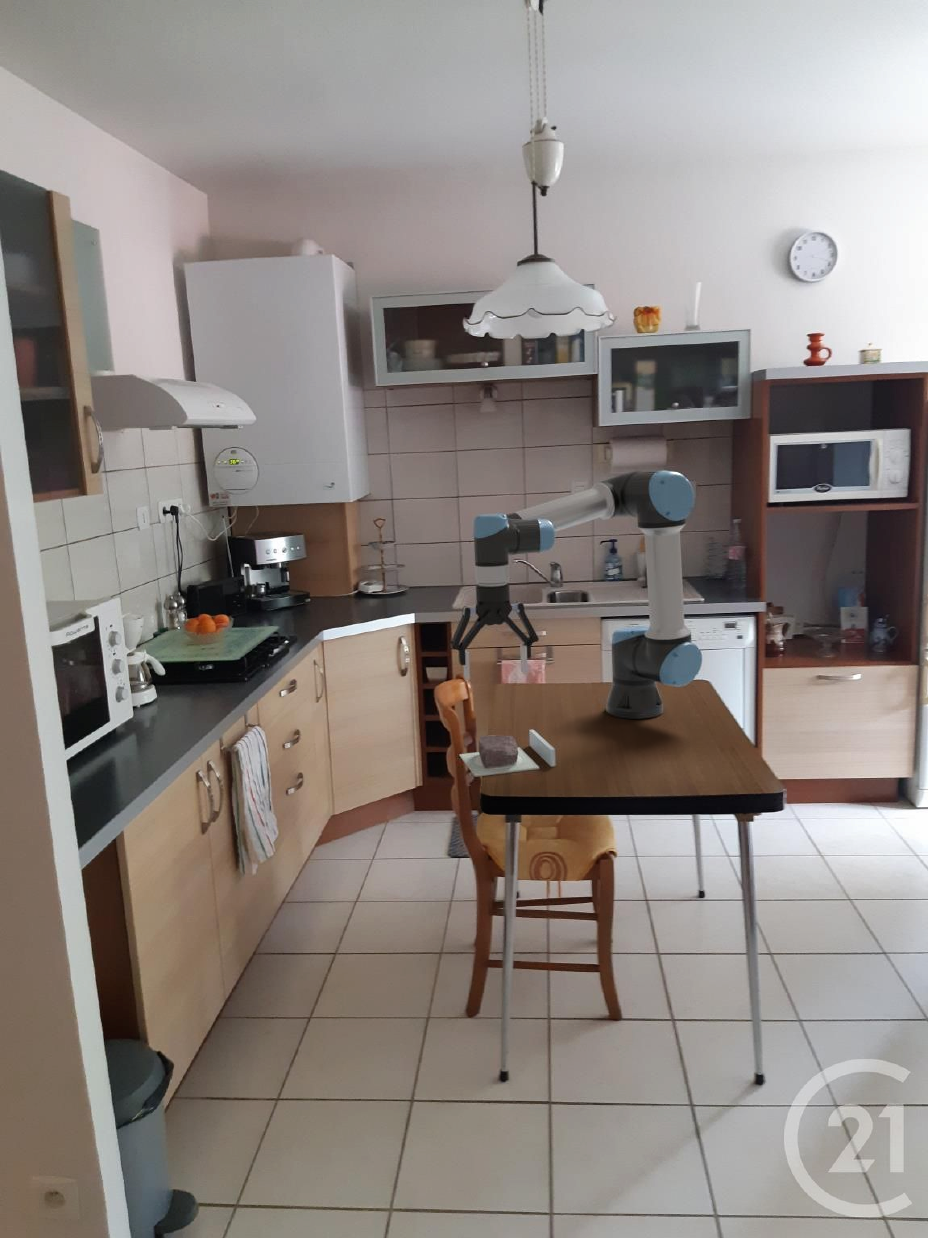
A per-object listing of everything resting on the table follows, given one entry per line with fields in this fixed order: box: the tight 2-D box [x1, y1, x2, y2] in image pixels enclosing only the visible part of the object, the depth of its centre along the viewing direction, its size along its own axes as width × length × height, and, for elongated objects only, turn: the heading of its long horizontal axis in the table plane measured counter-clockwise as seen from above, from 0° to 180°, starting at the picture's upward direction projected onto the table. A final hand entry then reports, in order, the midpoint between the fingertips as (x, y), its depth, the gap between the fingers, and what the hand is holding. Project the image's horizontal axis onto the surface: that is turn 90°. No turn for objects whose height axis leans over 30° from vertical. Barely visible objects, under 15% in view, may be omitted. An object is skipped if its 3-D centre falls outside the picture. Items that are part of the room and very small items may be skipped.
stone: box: [478, 734, 518, 768], centre depth 214 cm, size 12×9×5 cm
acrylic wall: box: [528, 729, 556, 767], centre depth 218 cm, size 1×16×4 cm, turn 13°
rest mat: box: [459, 746, 540, 778], centre depth 214 cm, size 15×15×1 cm
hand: (495, 675), depth 211 cm, fingers open, 13 cm apart
